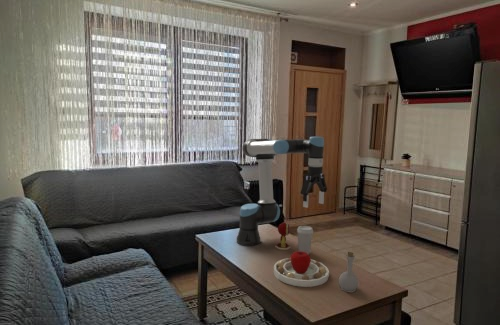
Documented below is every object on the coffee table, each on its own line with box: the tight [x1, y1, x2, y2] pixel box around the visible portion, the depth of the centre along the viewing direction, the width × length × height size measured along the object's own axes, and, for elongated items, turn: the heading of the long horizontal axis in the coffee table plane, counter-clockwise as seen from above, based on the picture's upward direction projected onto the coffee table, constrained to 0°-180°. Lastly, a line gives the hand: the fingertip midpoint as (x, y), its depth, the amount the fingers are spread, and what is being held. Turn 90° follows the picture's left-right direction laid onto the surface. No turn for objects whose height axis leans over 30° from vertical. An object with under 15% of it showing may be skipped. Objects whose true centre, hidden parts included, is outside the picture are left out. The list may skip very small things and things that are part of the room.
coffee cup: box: [296, 225, 314, 255], centre depth 202 cm, size 10×10×15 cm
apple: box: [290, 250, 312, 274], centre depth 173 cm, size 10×10×11 cm
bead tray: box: [273, 257, 330, 288], centre depth 174 cm, size 27×27×4 cm
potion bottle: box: [338, 251, 359, 293], centre depth 159 cm, size 9×9×18 cm
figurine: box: [274, 222, 292, 251], centre depth 210 cm, size 9×10×15 cm
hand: (313, 205), depth 186 cm, fingers open, 13 cm apart
